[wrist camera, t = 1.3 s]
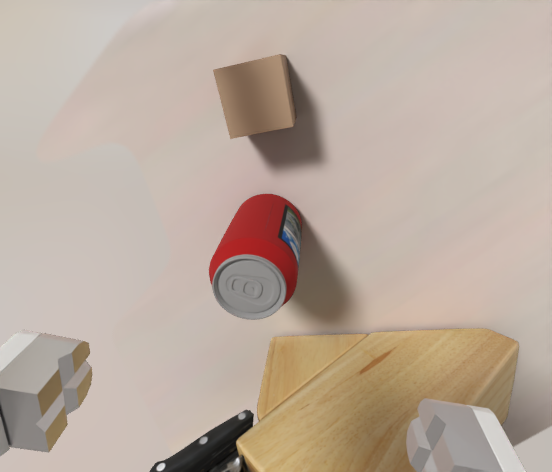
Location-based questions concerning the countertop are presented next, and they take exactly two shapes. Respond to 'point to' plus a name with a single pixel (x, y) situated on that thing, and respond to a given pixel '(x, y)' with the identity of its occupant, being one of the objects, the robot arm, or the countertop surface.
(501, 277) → the countertop surface
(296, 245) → the beverage can
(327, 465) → the knife block
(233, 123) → the walnut block
